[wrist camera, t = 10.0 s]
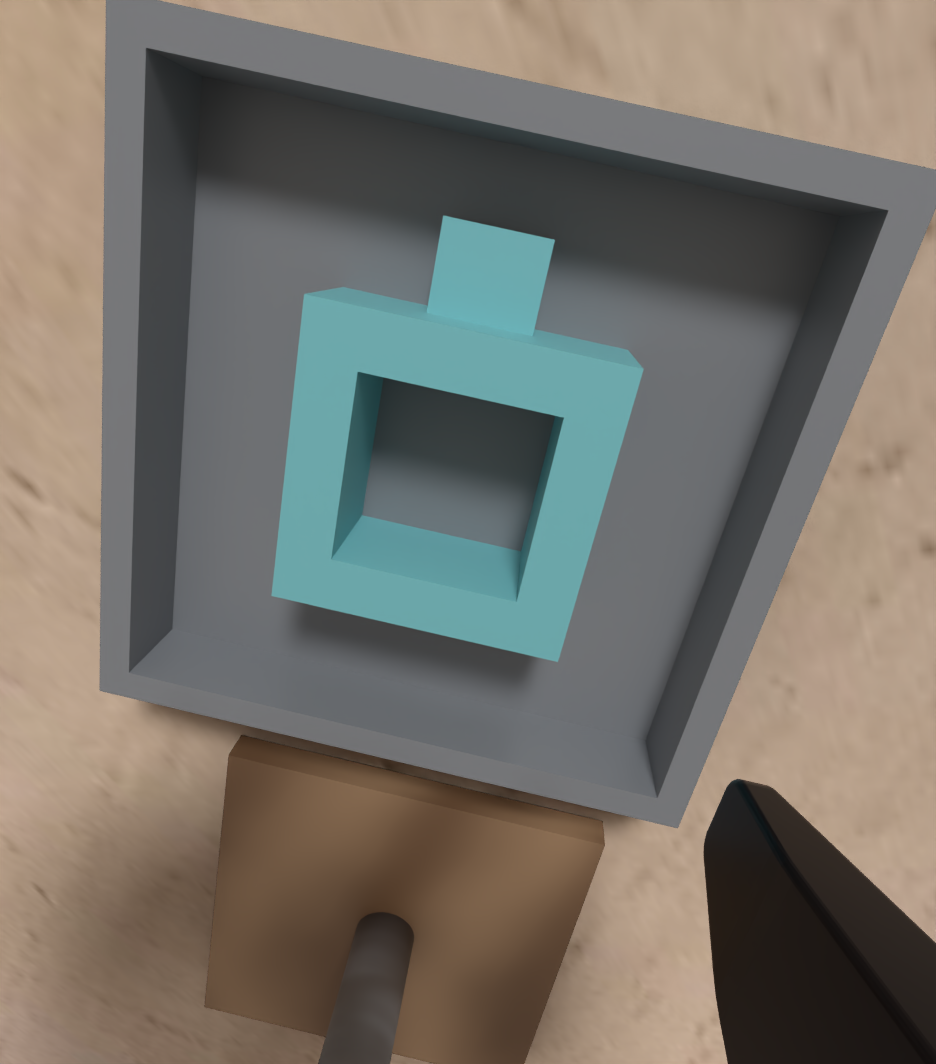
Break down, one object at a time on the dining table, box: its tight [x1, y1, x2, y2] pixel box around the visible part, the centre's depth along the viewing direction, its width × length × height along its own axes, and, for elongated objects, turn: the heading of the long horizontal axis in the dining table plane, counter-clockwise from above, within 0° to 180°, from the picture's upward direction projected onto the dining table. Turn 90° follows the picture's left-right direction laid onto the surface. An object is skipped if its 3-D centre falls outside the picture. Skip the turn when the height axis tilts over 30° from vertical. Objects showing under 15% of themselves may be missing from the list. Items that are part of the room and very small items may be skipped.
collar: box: [271, 215, 644, 662], centre depth 17 cm, size 7×9×3 cm
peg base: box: [205, 735, 605, 1064], centre depth 23 cm, size 12×12×6 cm
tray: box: [100, 0, 936, 828], centre depth 18 cm, size 16×16×3 cm
